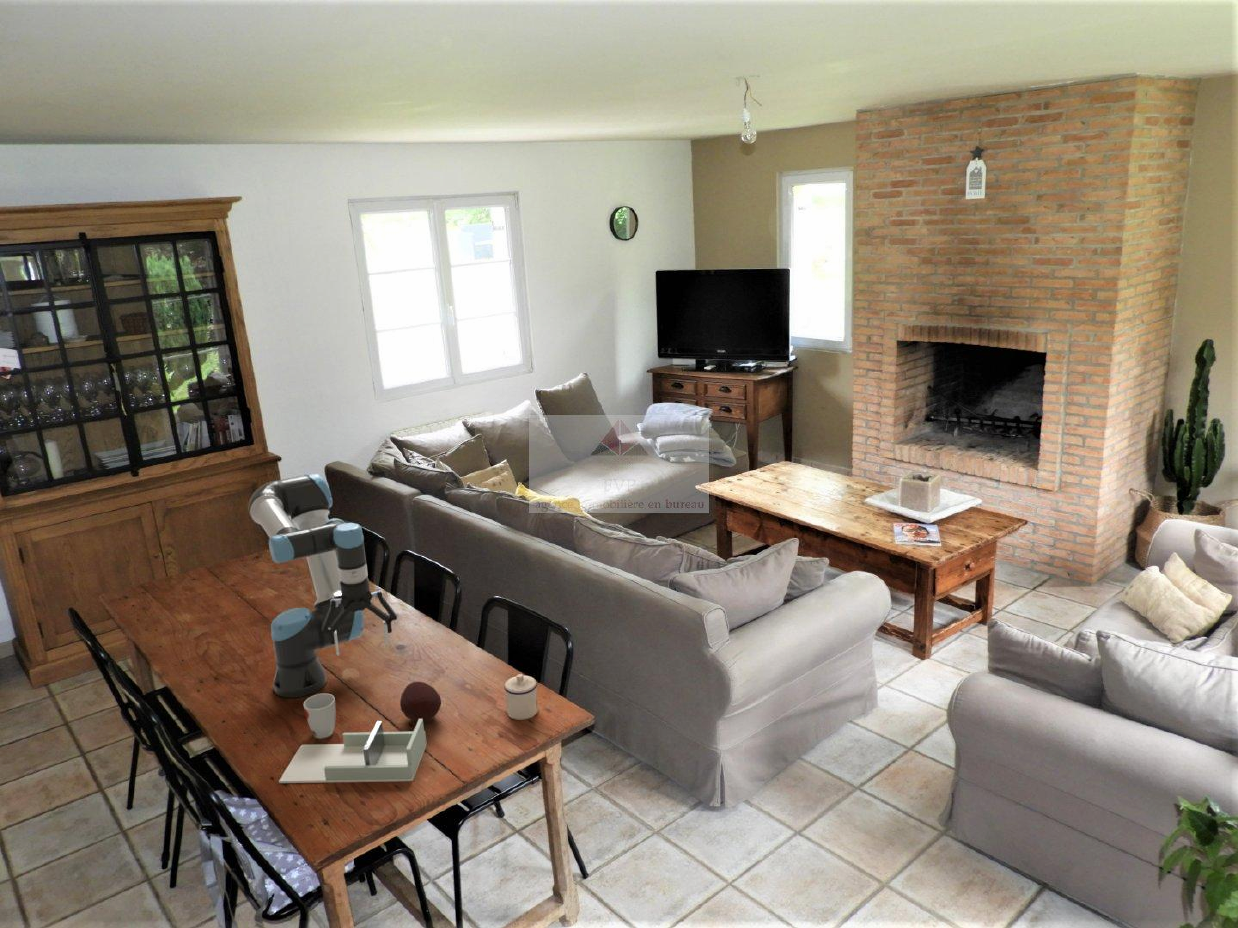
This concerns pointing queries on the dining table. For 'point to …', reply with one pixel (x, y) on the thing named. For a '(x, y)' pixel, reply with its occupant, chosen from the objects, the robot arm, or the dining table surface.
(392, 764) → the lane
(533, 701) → the teacup with lid
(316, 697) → the cup
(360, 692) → the dining table surface
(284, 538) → the robot arm
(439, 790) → the dining table surface
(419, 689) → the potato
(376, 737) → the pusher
